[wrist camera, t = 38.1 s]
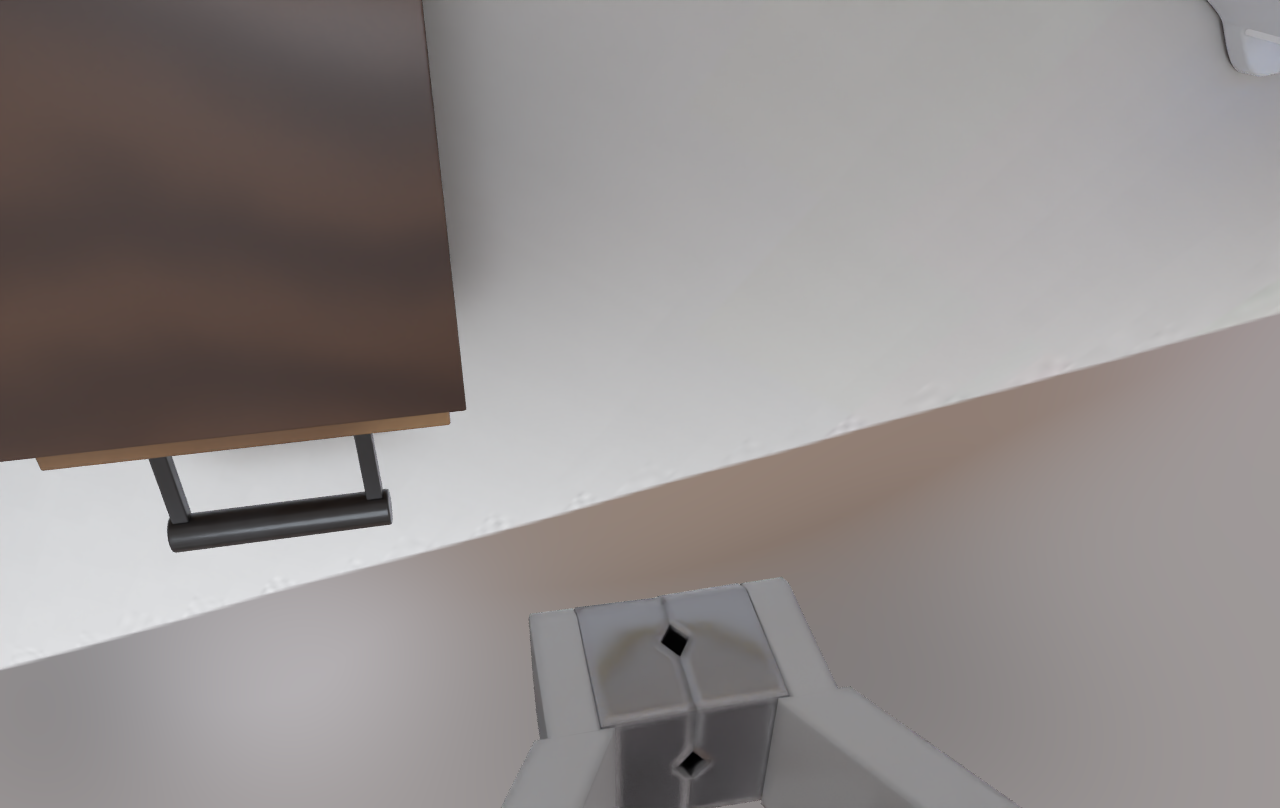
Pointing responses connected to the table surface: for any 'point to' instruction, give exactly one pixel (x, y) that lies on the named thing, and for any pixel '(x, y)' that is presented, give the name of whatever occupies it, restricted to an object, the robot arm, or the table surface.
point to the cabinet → (218, 222)
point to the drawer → (265, 518)
